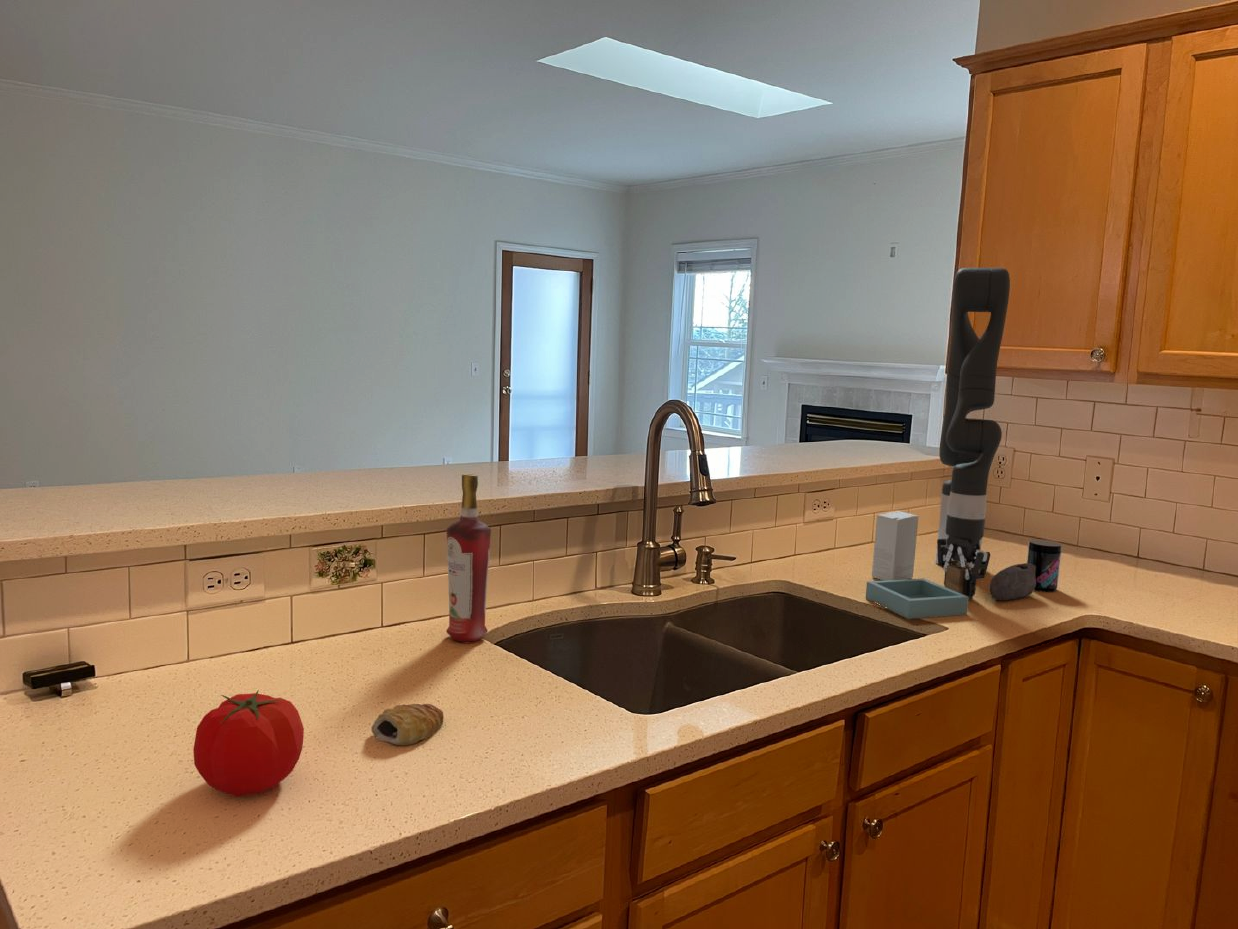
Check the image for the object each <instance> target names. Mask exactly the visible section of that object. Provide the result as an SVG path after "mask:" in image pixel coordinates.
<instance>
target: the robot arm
mask: <svg viewBox="0 0 1238 929" xmlns="http://www.w3.org/2000/svg"><path fill="white" fill-rule="evenodd" d="M954 276H955V277H954V280H953V285H952V308H951V309H952V310H951V313H952V315H951V337H950V338H951V339H950V346H949V354H948V355H949V356H948V362H947V372H946V386H945V387H946V389H945V390H946V391H945V393H946V394H945V407H944V414H943V415H944V416H943V422H942V428H941V434H940V441H939V450H938V451H939V459H940V462H941V463H942V465H945V466H950V467H953V468H952V472H951V479H949V480H946V481H944V482H943V483H942V488H941V500H940V512H939V520H938V521H939V522H938V530H937V531H938V532H937V533H938V534H937V540H936V542H937V544H936V552H935V553H936V556H935V563H936V564H937V565H938V567H940V568H941V567H942V568H943V569H942V570H943V571H944V578H943V579H944V580H943V584H944V586H943V587H945V581H946V571H947V565H961V567H962V569H964V573H965V578H966V579H965V581H964V591H963V595H965V596H968V597H973V598H974V597H975V594H976V587H977V580H983V579H985V578H986V574H987V570H988V566H989V564H990V558H991V552H990V551H984V550H982V542H983V538H984V535H985V527H986V526H985V525H986V524H985V523H986V513H987V493H988V492H987V490H988V479H989V474H990V470H991V466H992V463H993V460H994V459H995V458H994V457H995V456H996V453H997V450H998V449H999V446H1000V443H1001V441H1002V438H1003V437H1002V435H1003V434H1002V433H1003V432H1002V428H1001V426H1000V424H999V423H998V422H997V421H995V420H993V419H979V418H977V419H976V418H967V415H968V414H970V413H972V412H976V411H981V410H987V409H990V408H992V407H993V405H994V403H995V397H996V379H997V370H998V369H997V367H998V366H997V365H998V361H999V354H1000V349H1001V346H1002V342H1003V336H1004V330H1005V324H1006V318H1007V312H1008V305H1009V300H1010V290H1011V289H1010V288H1011V278H1010V273H1009V271H1008V269H1006V268H1004V267H963V268H959V269H958V271H957V272H956V273H955V275H954ZM969 312H970V313H990V318H989V321H988V324H987V326H986V329H985V330H984V332H983V334H982V335H981V337H980V338H979V336H978V335H977V334H976V332H975V330H974V328H973V326H972V323H971V321H970V317H969ZM970 568H971V569H972V574H970Z"/></svg>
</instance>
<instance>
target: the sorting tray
mask: <svg viewBox="0 0 1238 929" xmlns="http://www.w3.org/2000/svg"><path fill="white" fill-rule="evenodd" d="M865 588H866V589H865V599H866V600H868V599H869V600H868V601H870V602H872V601H874V602H876V603H878V604H880V605H881V606H880V605H879V606H880V607H882V606H883V607H882V608H884V607H887V608H888V609H889V610H888V609H887V610H888V611H890V610H891V611H890V612H892V611H893V613H895V614H897V615H899V616H901V617H904V618H905V619H907V620H908V619H909V620H911V619H922V618H923V619H925V618H938V617H948V616H950V617H951V616H965V614H966V615H968V606H969V600H970V599H969V597H968V596H965V595H963V594H961V593H958V592H956V591H953V590H951V589H948V588H946V587H944V586H943V585H941V584H938V583H937V582H936V583H935V581H931V580H929V579H926V578H924V577H920V578H909V579H902V580H885V581H883V580H870V581H866V587H865ZM968 599H969V600H968ZM874 602H873V603H874ZM876 603H875V604H876ZM878 604H877V605H878Z"/></svg>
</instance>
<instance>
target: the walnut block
mask: <svg viewBox="0 0 1238 929" xmlns="http://www.w3.org/2000/svg"><path fill="white" fill-rule="evenodd" d="M970 574H972V569H971V568H970ZM965 579H966V578H965V573H964V569H962V567H961V565H947V571H946V581H945V587H946V588H948V589H951V590H953V591H956V592H958V593H961V594H963V591H964V581H965ZM973 599H974V596H973V597H969V600H973Z"/></svg>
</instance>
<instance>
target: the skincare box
mask: <svg viewBox="0 0 1238 929" xmlns="http://www.w3.org/2000/svg"><path fill="white" fill-rule="evenodd" d="M919 518H920V516H919V515H916V514H913V513H909V512H905V511H900V510H895V511H891V512H890V511H889V512H886V513H881V514H877V515H876V524H875V535H874V537H875V538H874V545H873V556H872V557H873V558H872V567H871V568H872V569H871V577H872V578H873V579H876V578H877V579H876V580H879V581H885V580H902V579H914V567H915V558H916V549H917V536H918V527H919V526H918V525H919Z"/></svg>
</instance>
